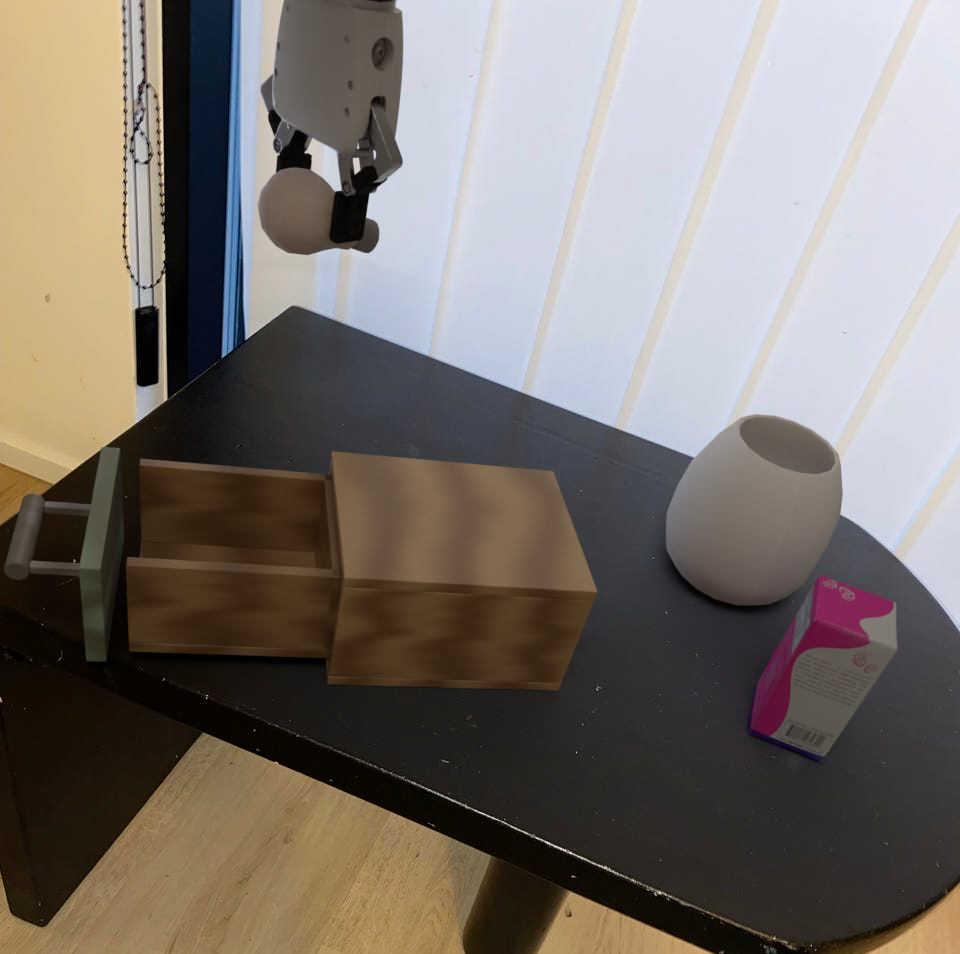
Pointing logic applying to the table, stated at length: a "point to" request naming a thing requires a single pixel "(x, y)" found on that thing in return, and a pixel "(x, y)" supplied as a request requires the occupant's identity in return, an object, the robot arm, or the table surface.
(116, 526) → the drawer
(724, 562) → the cup
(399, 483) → the cabinet
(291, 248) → the light bulb
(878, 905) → the table surface
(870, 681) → the supplement box
